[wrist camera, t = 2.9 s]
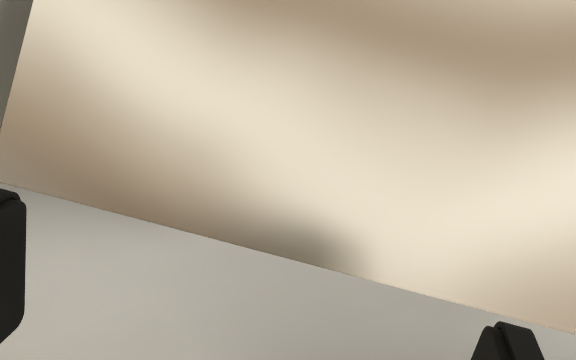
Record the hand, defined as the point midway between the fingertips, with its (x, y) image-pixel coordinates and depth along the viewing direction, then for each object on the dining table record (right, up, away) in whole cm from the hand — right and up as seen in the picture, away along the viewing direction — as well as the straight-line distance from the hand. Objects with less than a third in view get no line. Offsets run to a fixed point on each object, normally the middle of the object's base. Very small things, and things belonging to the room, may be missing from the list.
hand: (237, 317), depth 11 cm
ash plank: (+2, +8, +4) cm, 9 cm away
